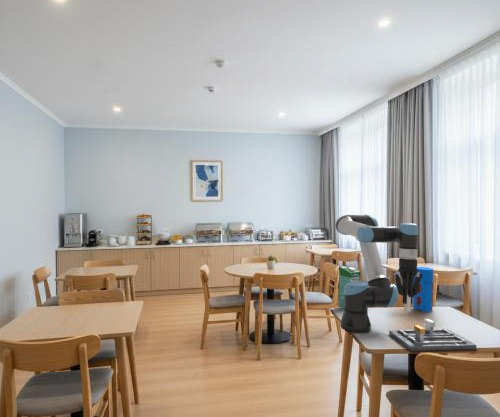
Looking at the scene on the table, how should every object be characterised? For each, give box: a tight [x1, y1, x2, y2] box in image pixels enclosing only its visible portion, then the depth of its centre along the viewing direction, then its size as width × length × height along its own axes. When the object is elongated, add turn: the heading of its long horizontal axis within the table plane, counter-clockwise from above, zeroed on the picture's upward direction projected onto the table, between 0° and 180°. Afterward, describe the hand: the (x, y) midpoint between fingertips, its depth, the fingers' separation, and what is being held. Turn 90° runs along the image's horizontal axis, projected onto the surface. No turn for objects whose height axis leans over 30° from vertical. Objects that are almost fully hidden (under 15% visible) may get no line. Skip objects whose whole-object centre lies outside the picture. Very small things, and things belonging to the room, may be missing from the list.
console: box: [388, 328, 477, 352], centre depth 168 cm, size 30×20×3 cm
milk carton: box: [338, 265, 362, 309], centre depth 222 cm, size 9×9×25 cm
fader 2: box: [423, 318, 436, 334], centre depth 173 cm, size 2×5×6 cm, turn 5°
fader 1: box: [413, 324, 425, 342], centre depth 163 cm, size 2×5×6 cm, turn 5°
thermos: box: [412, 266, 434, 313], centre depth 221 cm, size 11×11×25 cm
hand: (407, 310), depth 162 cm, fingers closed
